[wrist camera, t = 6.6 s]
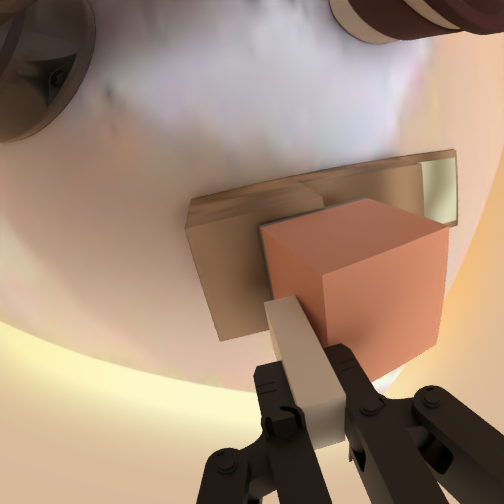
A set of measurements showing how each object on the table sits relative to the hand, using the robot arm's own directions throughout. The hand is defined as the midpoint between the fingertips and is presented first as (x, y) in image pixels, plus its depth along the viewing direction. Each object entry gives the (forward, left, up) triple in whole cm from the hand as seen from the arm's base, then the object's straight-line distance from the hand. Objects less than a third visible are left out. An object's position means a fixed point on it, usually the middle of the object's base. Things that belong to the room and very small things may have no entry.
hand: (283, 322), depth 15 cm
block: (+4, 0, -5) cm, 6 cm away
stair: (+9, 0, -13) cm, 15 cm away
